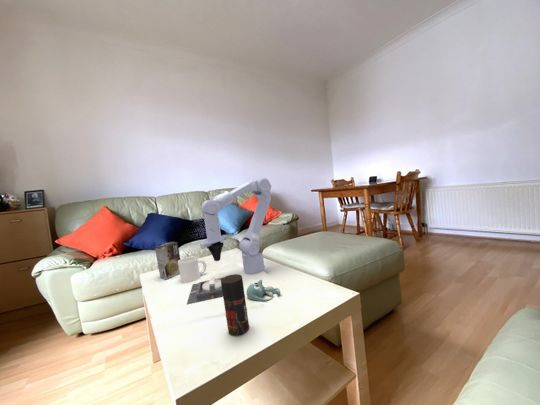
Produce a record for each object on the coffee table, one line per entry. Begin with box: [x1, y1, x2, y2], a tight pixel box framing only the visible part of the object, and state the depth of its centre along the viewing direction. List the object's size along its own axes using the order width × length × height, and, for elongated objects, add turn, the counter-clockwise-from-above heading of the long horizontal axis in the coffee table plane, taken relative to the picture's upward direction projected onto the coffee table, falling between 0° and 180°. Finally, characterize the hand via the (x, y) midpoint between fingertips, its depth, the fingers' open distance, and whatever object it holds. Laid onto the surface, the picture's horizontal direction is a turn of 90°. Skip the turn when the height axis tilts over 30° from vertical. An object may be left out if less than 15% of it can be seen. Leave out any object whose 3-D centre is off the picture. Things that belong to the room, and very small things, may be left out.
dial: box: [202, 277, 222, 292], centre depth 92 cm, size 11×8×4 cm
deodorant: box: [221, 274, 250, 337], centre depth 67 cm, size 6×6×15 cm
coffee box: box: [154, 241, 182, 281], centre depth 119 cm, size 9×6×16 cm
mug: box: [178, 255, 207, 284], centre depth 109 cm, size 12×8×10 cm
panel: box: [186, 276, 225, 306], centre depth 94 cm, size 18×18×3 cm
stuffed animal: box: [245, 279, 281, 302], centre depth 84 cm, size 11×7×12 cm
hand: (217, 260), depth 99 cm, fingers closed
